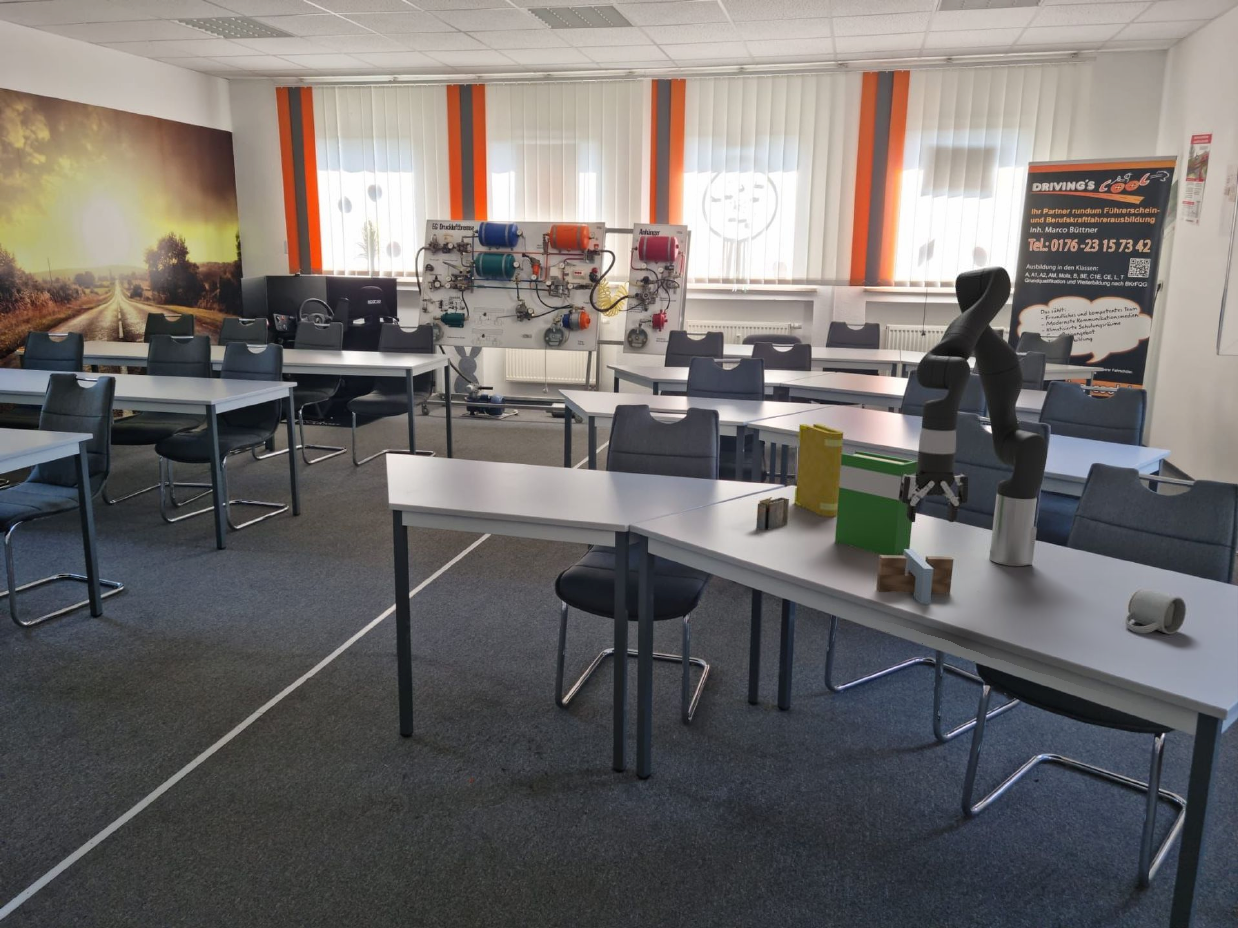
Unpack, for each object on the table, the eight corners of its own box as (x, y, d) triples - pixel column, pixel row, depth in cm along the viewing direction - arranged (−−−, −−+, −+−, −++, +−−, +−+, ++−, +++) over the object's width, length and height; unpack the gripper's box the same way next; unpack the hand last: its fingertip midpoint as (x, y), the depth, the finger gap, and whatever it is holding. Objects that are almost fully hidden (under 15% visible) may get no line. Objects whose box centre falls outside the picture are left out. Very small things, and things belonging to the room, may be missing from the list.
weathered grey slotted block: (765, 532, 245) (767, 498, 243) (756, 530, 247) (758, 496, 245) (788, 525, 253) (790, 492, 251) (779, 523, 255) (781, 490, 253)
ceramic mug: (1144, 617, 187) (1149, 582, 185) (1184, 630, 180) (1189, 595, 178) (1113, 625, 182) (1118, 590, 180) (1152, 640, 175) (1157, 603, 173)
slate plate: (900, 582, 205) (903, 549, 203) (909, 582, 205) (912, 549, 203) (920, 603, 191) (924, 568, 190) (929, 603, 191) (933, 568, 190)
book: (794, 503, 277) (799, 424, 271) (813, 501, 279) (818, 423, 273) (822, 517, 261) (828, 433, 256) (842, 515, 263) (848, 433, 258)
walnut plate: (946, 590, 200) (950, 556, 199) (949, 593, 198) (953, 559, 197) (876, 588, 200) (879, 554, 199) (878, 591, 198) (881, 557, 197)
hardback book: (834, 541, 236) (841, 453, 231) (850, 536, 241) (857, 450, 236) (894, 557, 224) (902, 465, 219) (909, 551, 229) (917, 461, 224)
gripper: (963, 445, 194) (956, 516, 197) (898, 445, 194) (893, 516, 197) (976, 452, 186) (970, 526, 190) (909, 452, 186) (904, 526, 190)
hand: (931, 521), depth 193 cm, fingers open, 8 cm apart
